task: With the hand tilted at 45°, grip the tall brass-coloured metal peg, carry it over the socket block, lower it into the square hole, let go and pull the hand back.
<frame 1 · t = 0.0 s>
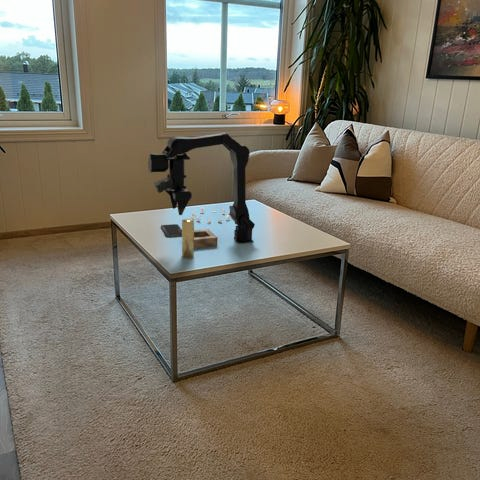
hand: (177, 211, 180), 15 cm above the table, tool pointing down, fingers open, 9 cm apart
phone: (172, 232, 204), on the table
peg: (187, 256, 177), on the table
socket block: (200, 242, 192), on the table
game piece set: (211, 218, 225), on the table
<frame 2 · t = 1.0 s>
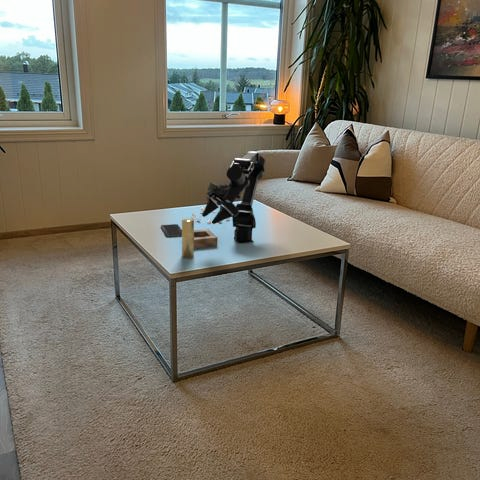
hand: (207, 219, 176), 13 cm above the table, tool tilted 45°, fingers open, 9 cm apart
nothing on the table moved.
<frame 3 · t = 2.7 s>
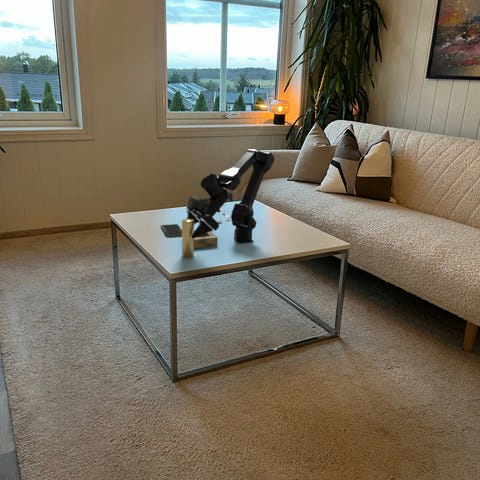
hand: (187, 233, 174), 9 cm above the table, tool tilted 45°, fingers open, 9 cm apart
nothing on the table moved.
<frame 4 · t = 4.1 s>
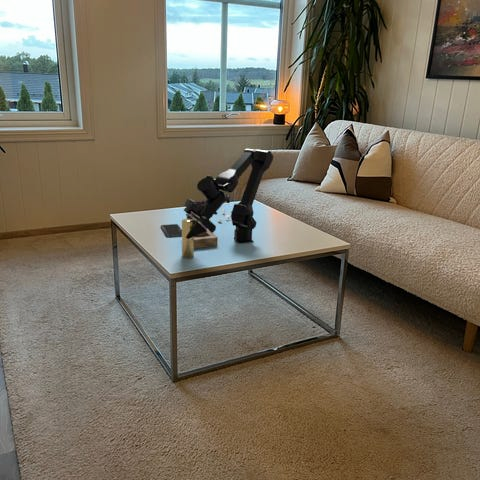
hand: (184, 236, 174), 8 cm above the table, tool tilted 45°, fingers closed on peg, 4 cm apart
peg: (187, 256, 177), on the table, touching gripper
everything else where it was.
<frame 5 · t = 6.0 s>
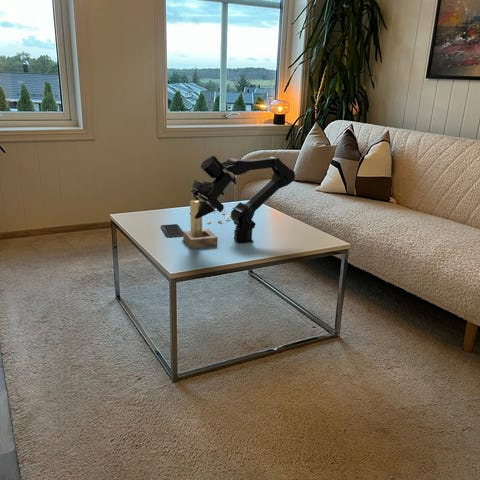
hand: (193, 216, 180), 13 cm above the table, tool tilted 45°, fingers closed on peg, 4 cm apart
peg: (196, 235, 184), point 5 cm above the table, touching gripper
everything else where it was.
when the fingers open (9 cm above the table, at t = 8.2 s): peg drops 1 cm, resting in socket block.
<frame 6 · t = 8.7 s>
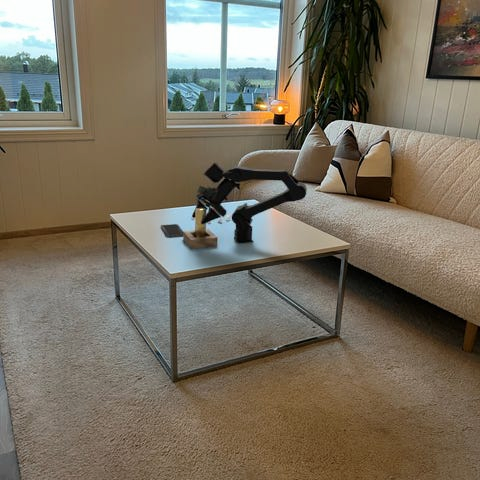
hand: (197, 220, 188), 10 cm above the table, tool tilted 45°, fingers open, 9 cm apart
peg: (200, 242, 192), resting in socket block
everything else where it was.
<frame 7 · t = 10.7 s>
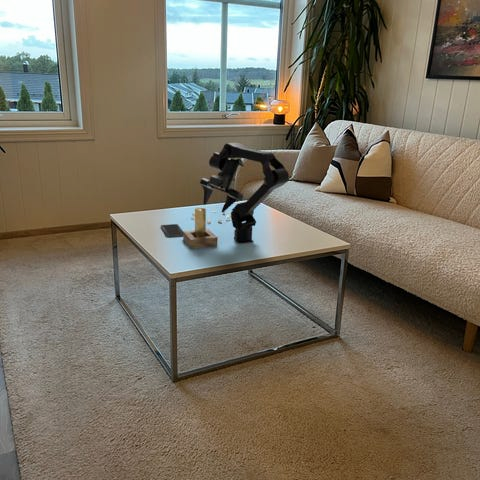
hand: (213, 208, 192), 13 cm above the table, tool tilted 25°, fingers open, 9 cm apart
nothing on the table moved.
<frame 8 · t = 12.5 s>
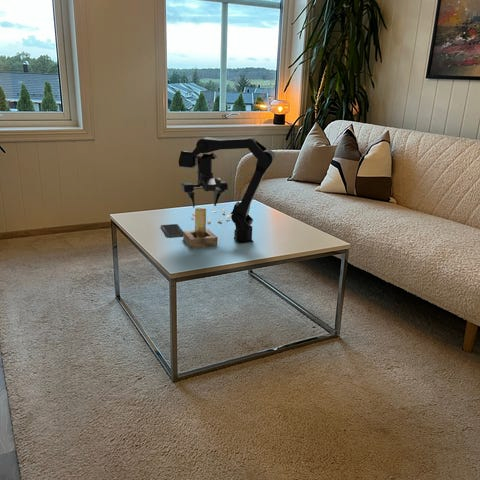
hand: (204, 206, 195), 13 cm above the table, tool pointing down, fingers open, 9 cm apart
nothing on the table moved.
at the end: peg 0.1 cm off-centre on the socket block, point 0.0 cm above the socket block's base; peg tilted 0°; the gripper is holding nothing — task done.
